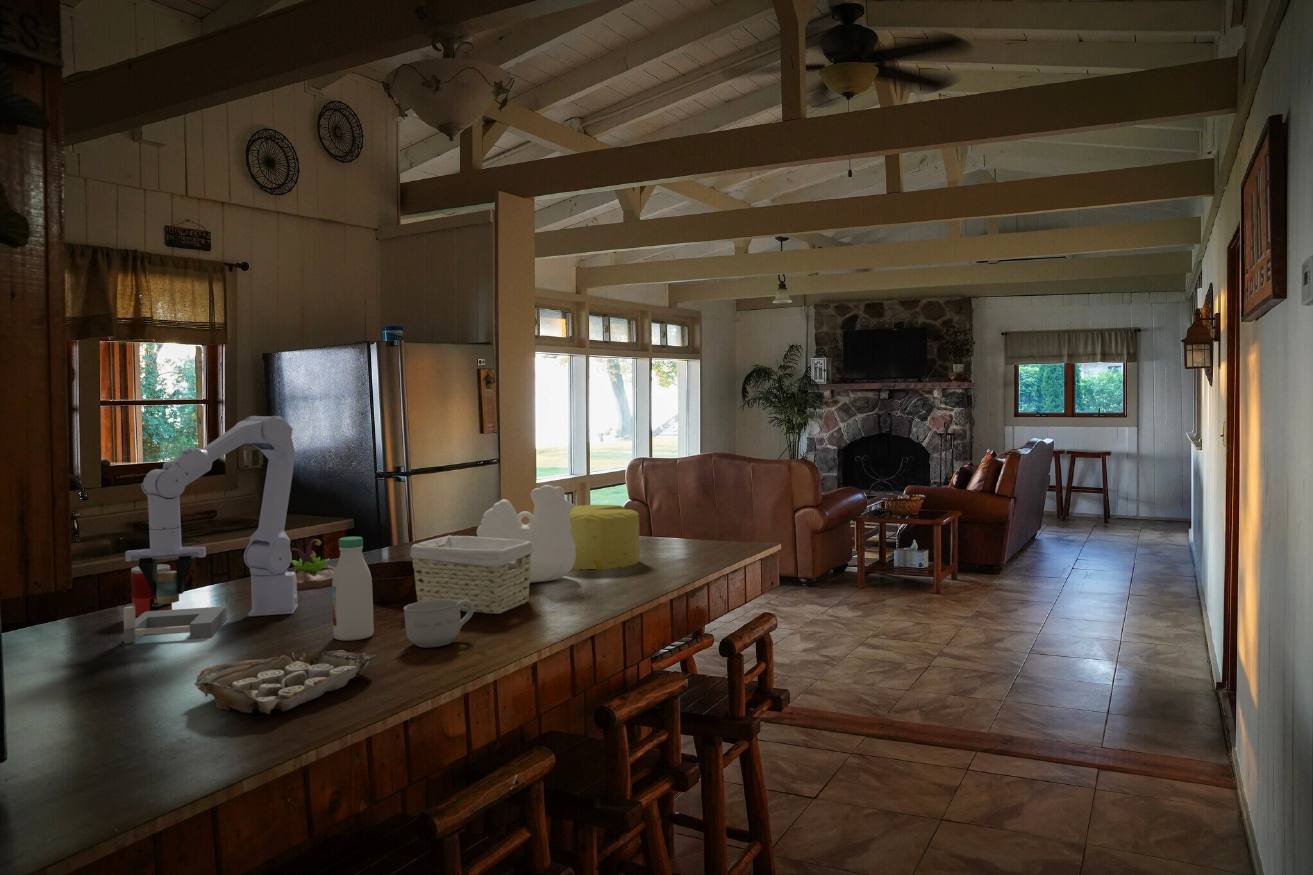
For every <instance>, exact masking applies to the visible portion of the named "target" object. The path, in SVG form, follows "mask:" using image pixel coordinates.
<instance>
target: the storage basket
mask: <svg viewBox="0 0 1313 875" xmlns="http://www.w3.org/2000/svg"><path fill="white" fill-rule="evenodd" d="M532 552H533V547H532V542H531V541H524V540H516V539H503V538H487V537H478V536H474V535H473V536H471V535H451V534H450V535H447V536H442V537H437V538H434V539H430V540H425V541H421V542H419V543H414V544H413V545H412V544H411V547H410V552H409V553H410V558H411V559H412V568H413V570H414V572H413V573H414V581H415V591H416V600H417V602H422V601H430V600H442V599H450V600H457V601H461V600H469V601H470V602H471V603H472V604H473V607H474V612H473V613H483V614H492V615H493V614H496V615H499V614H502V613H504V612H507V611H509V610H511V609H515V608H517V607H519V606H521V604H522V605H524V604H526V603H527V602H528V601H529V598H530V597H529V596H530V595H529V594H530V584H531V583H530V579H529V578H530V574H531V571H530V562H531V559H530V558H531V553H532ZM460 612H466V613H467V612H468V606H467V605H463V606H462V607H461V609H460Z"/></svg>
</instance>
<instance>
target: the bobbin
mask: <svg viewBox="0 0 1313 875" xmlns="http://www.w3.org/2000/svg"><path fill="white" fill-rule="evenodd" d="M177 582H178V579H177V570H170V571H164V572H158V573H156V596H157V603H159V604H167V603H172V604H174V603H177V602H179V601H180V594H178V591H177Z"/></svg>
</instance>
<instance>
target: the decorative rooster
mask: <svg viewBox="0 0 1313 875" xmlns="http://www.w3.org/2000/svg"><path fill="white" fill-rule="evenodd" d="M565 494H566V492H565V489H564V488H563V487H561V486H554V485H551V484H544V485H542V486H540V487H535V488H534V489H532V490H531V491H530V499H531V500H532V502H533V503H534V504H533V505H534V507H533V513H531V512H530V511H527V510H525V511H524V510H523V511H520V512H519V513H517V511H516V509H515V507H514V506H513V503H511V502H510V500H509V499H505V498H504V499H500V500H499V501H498V502H495V503H494V504H493V505H492V507H491V508H488V509H487V510H485V512H484V513H483V516H482V519H481V520H480V525H479V526H478V527H477V529H476V535H477V537H487V538H503V539H516V540H524V541H531V542H532V547H533V552H532V553H531V558H530V559H531V562H530V571H531V574H530V578H529V579H530V584H531V583H541V582H542V583H543V582H550V581H554V580H555V581H557V580H559V579H562V578H564V577H565V576H566V575H568V574H569V573H570V572H571V570H572V567H573V565H574V562H575V558H576V552H575V547H576V546H575V543H574V540H573V537H572V534H571V532H570V530H571V522H570V518H571V515H570V512H571V510H572V509H573V507H574V506H575V504H574V503H572V502H570V501H567V500H566V495H565ZM524 517H527V518H528V519H529V522H528V523H527V524H524V523H523V522H522V518H524Z"/></svg>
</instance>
